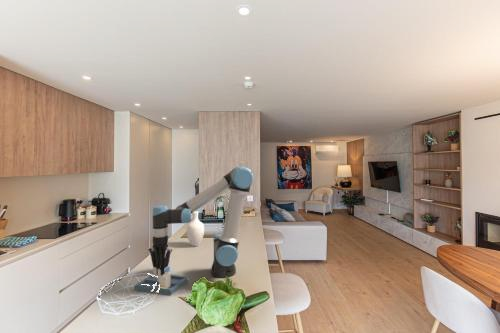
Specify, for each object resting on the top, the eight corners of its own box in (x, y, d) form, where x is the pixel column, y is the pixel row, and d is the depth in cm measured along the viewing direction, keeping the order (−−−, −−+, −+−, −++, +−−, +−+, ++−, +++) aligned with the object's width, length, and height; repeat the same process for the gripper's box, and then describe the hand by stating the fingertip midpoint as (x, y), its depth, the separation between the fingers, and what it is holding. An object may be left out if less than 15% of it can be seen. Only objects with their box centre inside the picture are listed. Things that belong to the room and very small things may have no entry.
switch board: (187, 281, 138) (187, 276, 138) (171, 295, 122) (171, 289, 122) (154, 276, 144) (154, 272, 144) (134, 289, 128) (134, 284, 128)
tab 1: (164, 277, 139) (164, 265, 139) (159, 280, 135) (159, 267, 136) (158, 276, 140) (158, 264, 141) (153, 279, 137) (153, 267, 137)
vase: (207, 246, 200) (207, 212, 200) (190, 249, 192) (190, 213, 192) (200, 242, 212) (200, 209, 212) (183, 245, 204) (183, 211, 204)
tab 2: (170, 285, 129) (170, 272, 129) (166, 289, 125) (166, 275, 125) (164, 284, 130) (163, 271, 130) (159, 288, 126) (159, 275, 126)
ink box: (165, 268, 155) (165, 250, 155) (170, 270, 152) (169, 251, 152) (152, 273, 149) (152, 253, 149) (157, 275, 145) (157, 255, 146)
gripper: (175, 234, 131) (175, 279, 130) (154, 232, 134) (154, 276, 134) (166, 238, 123) (167, 285, 123) (144, 236, 127) (145, 282, 127)
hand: (160, 280), depth 129 cm, fingers closed
